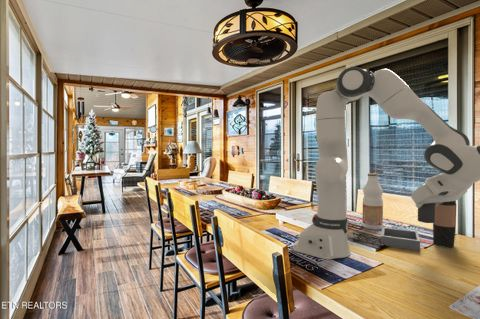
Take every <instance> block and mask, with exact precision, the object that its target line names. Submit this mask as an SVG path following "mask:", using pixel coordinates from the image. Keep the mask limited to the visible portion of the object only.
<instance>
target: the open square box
mask: <svg viewBox="0 0 480 319" xmlns="http://www.w3.org/2000/svg"><path fill="white" fill-rule="evenodd" d="M381 244H383V245H382V246H384V245H386V247H389V248H390V247H391V248H399V249H403V250H409V251H410V250H411V251H418V252H421V239H420V234H419V231H418V230H417V231H416V230H410V229H409V230H408V229H398V228H394V227H392V228H391V227H384V226H383V227H382V229H381V234H380V245H381Z"/></svg>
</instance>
